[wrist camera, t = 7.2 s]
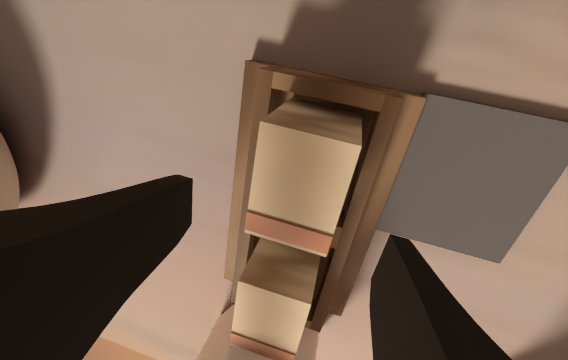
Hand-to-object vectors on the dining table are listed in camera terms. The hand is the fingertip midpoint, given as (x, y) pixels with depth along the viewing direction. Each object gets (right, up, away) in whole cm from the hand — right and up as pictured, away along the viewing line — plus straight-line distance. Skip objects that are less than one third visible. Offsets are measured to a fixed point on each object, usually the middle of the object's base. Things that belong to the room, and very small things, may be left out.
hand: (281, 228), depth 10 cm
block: (+1, -4, +11) cm, 12 cm away
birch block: (+2, +4, +7) cm, 8 cm away
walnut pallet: (+2, 0, +10) cm, 10 cm away
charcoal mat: (+11, +2, +7) cm, 13 cm away
